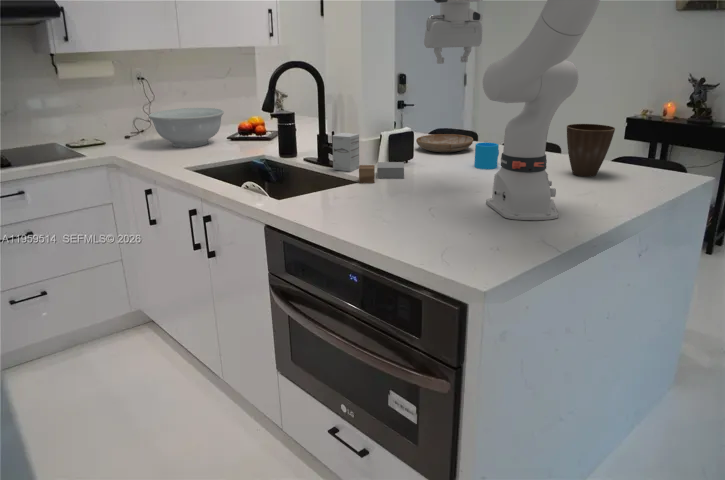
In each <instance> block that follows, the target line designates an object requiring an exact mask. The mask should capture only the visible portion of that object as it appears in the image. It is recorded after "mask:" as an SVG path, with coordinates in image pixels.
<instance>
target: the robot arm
mask: <svg viewBox="0 0 725 480" xmlns="http://www.w3.org/2000/svg"><path fill="white" fill-rule="evenodd" d="M433 1H434V2H435V3H437V4H440V5H439V14H437V15H436V14H431V15H430V16H429V17H428V18H427V19H426V23H425V26H426V27H425V32H424V41H423V42H424V46H425V48H427V49H433V53H434V54H435V57H436V63H437V64H438V65H440V64H445V57H443V55H442V53H441V52H443V49H445V48H463V51H464V52H463V55H461V56H460V63H468V62H469V61H468V60H469V56H470V54H471V52H472V47H473V48H475V47H480V46H481V44H482V42H483V24H482V23H481V21H483V14H482V13H481V12H479V11H477V10H475V9H473V8H472V7H471V2H472V3H473V2H477V3H478V2H480V1H482V0H433ZM600 1H601V0H546V2H545V4H544V6H543V8H542V10H541V11H540V13H539V16H538V17H537V20H536V22H535V23H534V25H533V27H532V29H531V31H530V32H529V33H528V34H527V36H526V38H525V39H524V40H523V41H522V42H521V43H520V44H519V45H517V46H516V47H515V48H514V49H513V50H512V51H510V53H508V54H507V55H506V56H504V57H502V58H500V59H498V60H496V61H494V62H492V63H490V64H489V65H488V67H487V68H486V70H485V71H484V73H483V77H482V89H483V93H484V94H485V96H486V97H487V98H488V99H489V100H490V101H492V102H497V103H498V102H499V103H504V104H518V103H524V106H523V107H522V110H521V111H520V112H519V114H518V115H516V116H515V117H512V118H511V119H510V120H509V121H507V123H506V125H505V128H504V136H503V137H504V138H503V150H502V151H503V152H502V153H501V155H500V166H501V167H500V169H499V170H498V171H497V172H496V173H495V174H494V176H493V186H492V194H491V197H489V198H486V200H485V204H486V205H487V206H489V207H490V208H492V209H493V210H494V211H495V212H497V213H498V214H499V215H500V216H502V217H503V218H506V219H510V220H518V221H519V220H520V221H521V220H522V221H543V220H544V221H545V220H554V219H558V218H559V213H558V210H557V206H556V203H555V200H554V199H553V198H555V197H556V195H557V190H556V189H557V188H554V187H552V186H553V185H552V184H553V181H552V180H549V173H548V172H547V171H546V170H547V163H548V162H547V154H546V147H547V140H548V135H549V128H550V125H551V122H552V120H553V118H554V116H555V113H556V112H557V110H558V109H559V108H560V106H561V104H563V103H564V101H566V100H567V99H568V98H569V97H571V96H572V95H573V93H574V92H576V91H575V90H576V89H577V87H578V83H579V71H578V69H577V67H576V65H575V64H574V63H573V62H572V61H569V60H567V59H568V58H569V57H570V56H571V55H572V54H573V52H574V51H575V49H576V48H577V46H578V44H579V42H580V40H581V39H582V38H583V36H584V34H585V32H586V31H587V29H588V27H589V25H590V24H591V22H592V20H593V19H594V16H595V13H596V12H597V9H598V6H599V4H600Z"/></svg>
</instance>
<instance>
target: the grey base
mask: <svg viewBox="0 0 725 480" xmlns="http://www.w3.org/2000/svg"><path fill="white" fill-rule="evenodd" d="M376 170H377V171H376V174H377V175H376V176H377V179H378V180H379V179H386V180H388V179H392V180H393V179H396V180H397V179H399V180H401V179H405V162H404V161H398V162H397V161H380V162H377V167H376Z"/></svg>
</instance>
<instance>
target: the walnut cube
mask: <svg viewBox="0 0 725 480" xmlns="http://www.w3.org/2000/svg"><path fill="white" fill-rule="evenodd" d="M375 167H376V165H375V164H359V168H358V183H359V184H375V179H376V178H375V177H376V175H375V174H376V173H375Z"/></svg>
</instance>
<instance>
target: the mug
mask: <svg viewBox="0 0 725 480" xmlns="http://www.w3.org/2000/svg"><path fill="white" fill-rule="evenodd" d="M499 148H500V147H499V144H498V143H495V142H485V141H484V142H477V143H475V147H474V151H475V152H474V161H473V162H474V163H473V164H474V168H476V169H479V170H493V169H497V168H498V160H499V155H500V150H499Z"/></svg>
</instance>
